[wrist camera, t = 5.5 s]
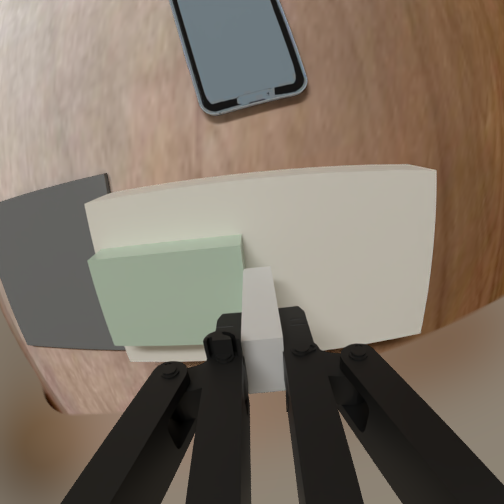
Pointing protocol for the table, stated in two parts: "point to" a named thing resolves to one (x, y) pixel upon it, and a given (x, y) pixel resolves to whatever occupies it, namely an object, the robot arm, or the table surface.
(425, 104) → the table surface
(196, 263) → the tile
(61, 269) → the mat
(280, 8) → the smartphone
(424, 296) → the board
